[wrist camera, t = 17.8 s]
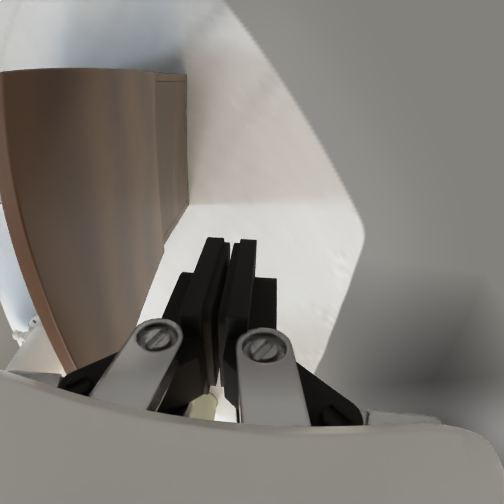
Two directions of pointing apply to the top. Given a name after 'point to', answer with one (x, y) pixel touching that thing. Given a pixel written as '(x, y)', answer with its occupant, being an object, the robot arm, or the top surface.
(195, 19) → the top surface
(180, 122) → the bin
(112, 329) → the bin lid
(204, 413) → the can
